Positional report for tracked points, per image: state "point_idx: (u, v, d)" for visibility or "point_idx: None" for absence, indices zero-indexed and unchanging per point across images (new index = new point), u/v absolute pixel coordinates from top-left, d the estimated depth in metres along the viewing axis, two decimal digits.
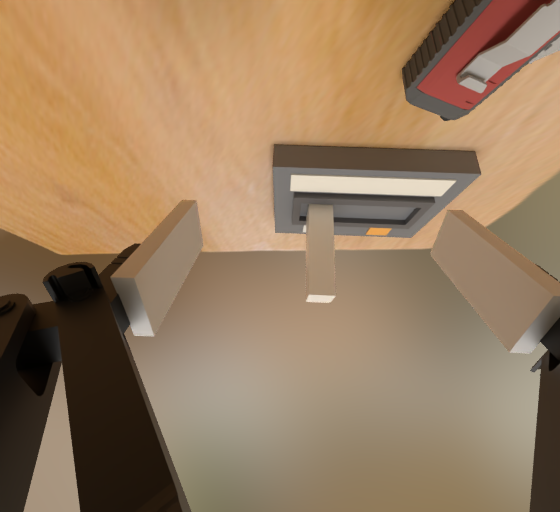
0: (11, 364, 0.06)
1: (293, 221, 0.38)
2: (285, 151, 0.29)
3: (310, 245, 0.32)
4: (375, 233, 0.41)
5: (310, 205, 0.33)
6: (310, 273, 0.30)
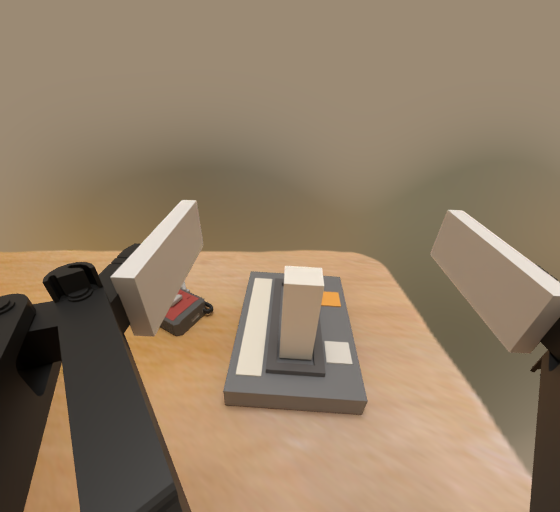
0: (10, 364, 0.06)
1: (317, 370, 0.31)
2: None
3: (281, 323, 0.30)
4: (336, 299, 0.42)
5: None
6: None
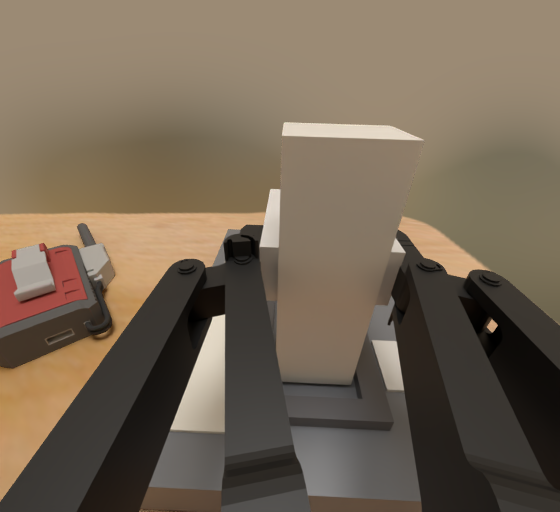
0: (185, 318, 0.08)
1: (372, 415, 0.12)
2: None
3: None
4: None
5: None
6: None
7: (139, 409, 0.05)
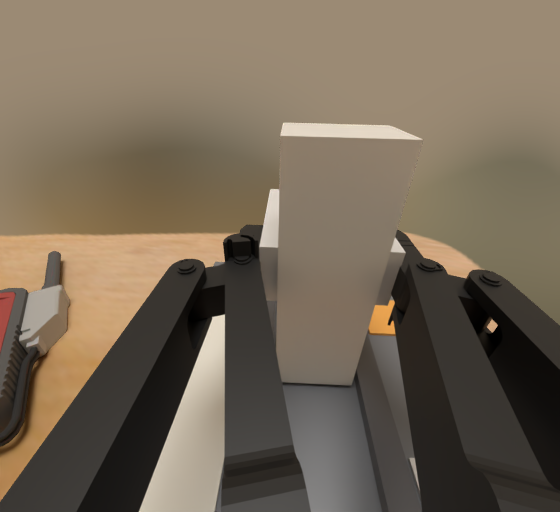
0: (185, 318, 0.08)
1: None
2: None
3: (277, 292, 0.11)
4: None
5: None
6: None
7: (139, 409, 0.05)
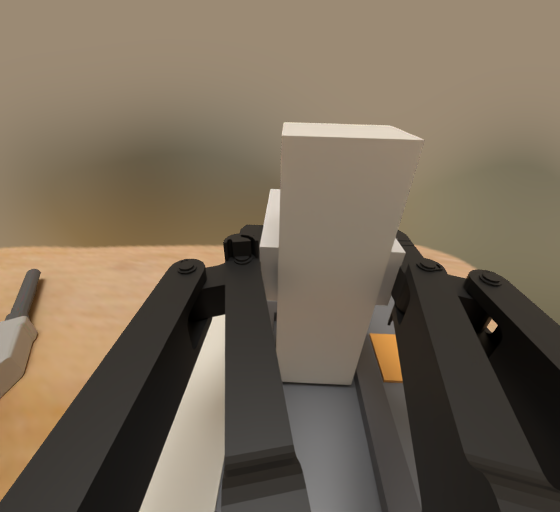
0: (185, 318, 0.08)
1: None
2: None
3: None
4: None
5: None
6: None
7: (139, 409, 0.05)
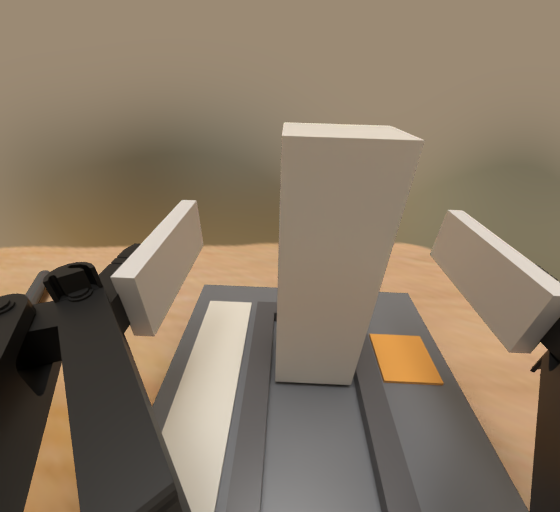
0: (11, 365, 0.06)
1: None
2: None
3: None
4: (422, 360, 0.15)
5: None
6: None
7: None
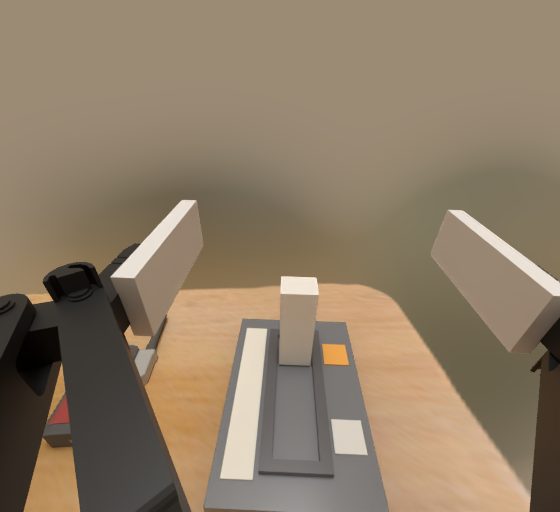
0: (11, 364, 0.06)
1: (324, 470, 0.24)
2: None
3: None
4: (342, 355, 0.36)
5: (279, 360, 0.34)
6: (280, 309, 0.29)
7: None
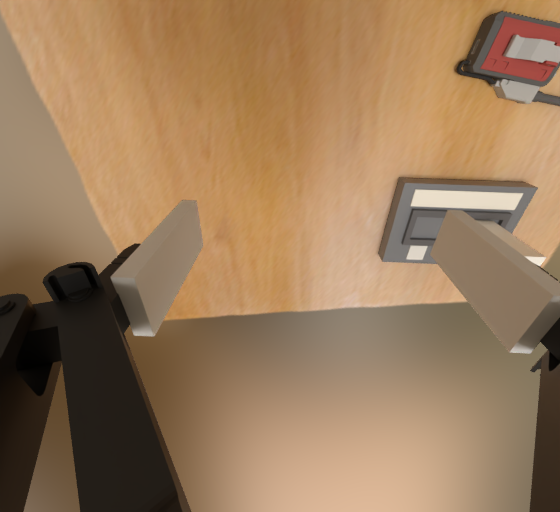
0: (11, 365, 0.06)
1: (405, 240, 0.50)
2: (408, 179, 0.46)
3: (498, 235, 0.42)
4: None
5: (477, 221, 0.47)
6: (513, 247, 0.39)
7: None
